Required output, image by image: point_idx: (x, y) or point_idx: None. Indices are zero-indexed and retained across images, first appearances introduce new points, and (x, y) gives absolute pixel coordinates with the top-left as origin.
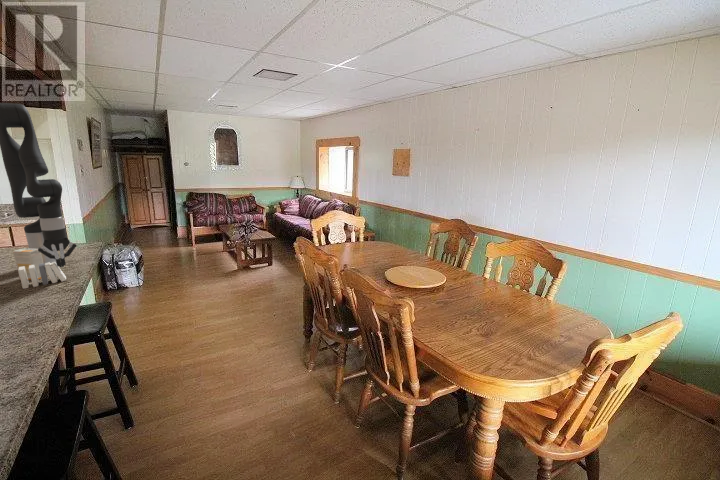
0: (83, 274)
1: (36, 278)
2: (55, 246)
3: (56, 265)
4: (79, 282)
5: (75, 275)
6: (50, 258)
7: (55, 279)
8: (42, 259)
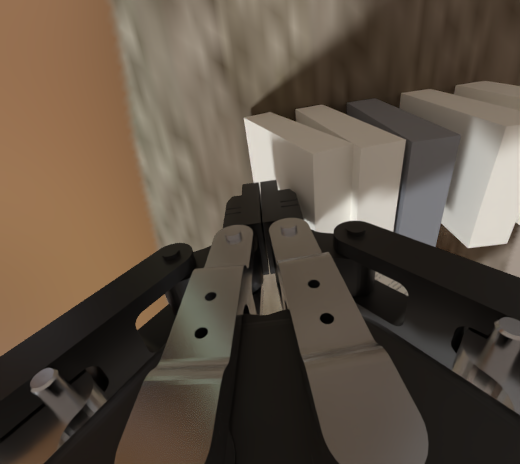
0: (168, 207)
1: (432, 102)
2: (310, 408)
3: (300, 197)
4: (141, 10)
5: (211, 210)
6: (362, 221)
7: (306, 112)
8: None
